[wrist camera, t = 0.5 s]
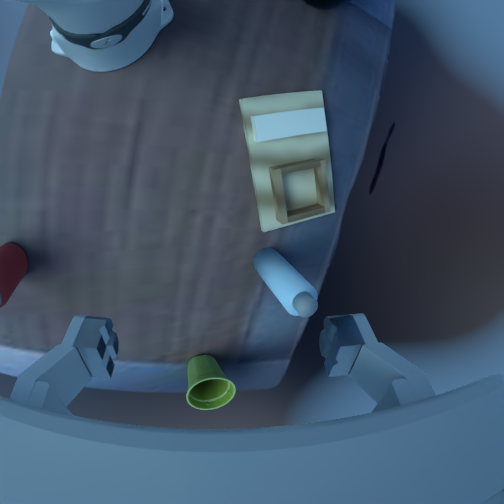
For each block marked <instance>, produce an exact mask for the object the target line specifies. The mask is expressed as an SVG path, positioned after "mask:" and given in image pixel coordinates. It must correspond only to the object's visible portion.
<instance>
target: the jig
mask: <svg viewBox="0 0 504 504" xmlns="http://www.w3.org/2000/svg"><path fill="white" fill-rule="evenodd" d="M239 103H240V109H241V114H242V120H243V125H244V131H245V137H246V142H247V148H248V154H249V160H250V165H251V171H252V177H253V183H254V189H255V195H256V201H257V207H258V213H259V219H260V225H261V230H262V231H263V232H267V231H270V230H274V229H277V228H281V227H284V226H288V225H291V224H295V223H298V222H302V221H306V220H309V219H313V218H316V217H320V216H323V215H327V214H331V213H334V212H335V205H334V192H333V180H332V169H331V159H330V150H329V141H328V133H327V131H324V132H317V133H310V134H303V135H296V136H290V137H284V138H278V139H272V140H267V141H261V142H255V138H254V132H253V127H252V121H251V116H257V115H264V114H271V113H278V112H285V111H293V110H302V109H312V108H324V103H323V96H322V90H319V91H304V92H292V93H282V94H273V95H265V96H257V97H250V98H243V99H239ZM324 112H325V110H324ZM325 120H326V117H325ZM326 127H327V125H326Z"/></svg>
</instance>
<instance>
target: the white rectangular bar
mask: <svg viewBox="0 0 504 504" xmlns="http://www.w3.org/2000/svg"><path fill="white" fill-rule="evenodd" d="M251 121H252V127H253V132H254V138H255V142H261V141H267V140H272V139H278V138H284V137H290V136H296V135H303V134H310V133H317V132H324V131H327V127H326V120H325V112H324V108H312V109H302V110H293V111H285V112H278V113H271V114H264V115H257V116H251Z"/></svg>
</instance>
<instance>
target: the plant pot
mask: <svg viewBox="0 0 504 504" xmlns="http://www.w3.org/2000/svg"><path fill="white" fill-rule="evenodd" d="M187 369H188V384H189V387H188V391H187V395H186V397H187V401H188V403H189V404H190V405H191V406H192V407H194V408H197V409H202V410H210V409H216V408H219V407H221V406H223V405H225V404H227V403H228V402H229V401H230V400H231V399H232V398H233V396H234V395H235V391H236V389H235V385H234V384H233V382H232V381H230V380H229V379H228V378H227V377H226V376H225V375H224V373H223V372H222V370H221V368H220V367H219V365H218V363H217V362H216V360H215V358H214V357H212V356H210V355H206V354H205V355H201V356H195V357H193V358H192V359H191V360H190V361H189V362H188V367H187Z"/></svg>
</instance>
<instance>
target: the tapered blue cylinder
mask: <svg viewBox="0 0 504 504" xmlns="http://www.w3.org/2000/svg"><path fill="white" fill-rule="evenodd" d="M253 266H254V268H255V270H256V271H257V272H258V274H259V275H260V276H261V278H262V279H263V280H264V281H265V283H266V284H267V285H268V287H269V288H270V289H271V291H272V292H273V293H274V294H275V296H276V297H277V298H278V300H279V301H280V302H281V304H282V305H283V306H284V307H285V309H286V310H287V311H288V312H289V313H290V314H291V315H295V316H298V315H300V316H302V317H309V316H311V315H312V314H313V313H314V312H315V311H316V310H317V307H318V303H317V301H316V300H317V291H316V290H315V288H314V287H313V286H312V285H311V284H310V283H309V282H308V281H307V280H306V279H305V278H304V277H303V276H301V275H300V274H299V273H298V272H297V271H296V270H295V269H294V268H293V267H292V266H291V265H290V264H289V263H288V262H287V261H286V260H285V259H284V258H283V257H282V256H281V255H280V254H279V253H278V252H277V251H276V250H275V249H273V248H264V249H262V250H260V251H259V252H258V253H257V254H256V255H255V257H254V260H253Z"/></svg>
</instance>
